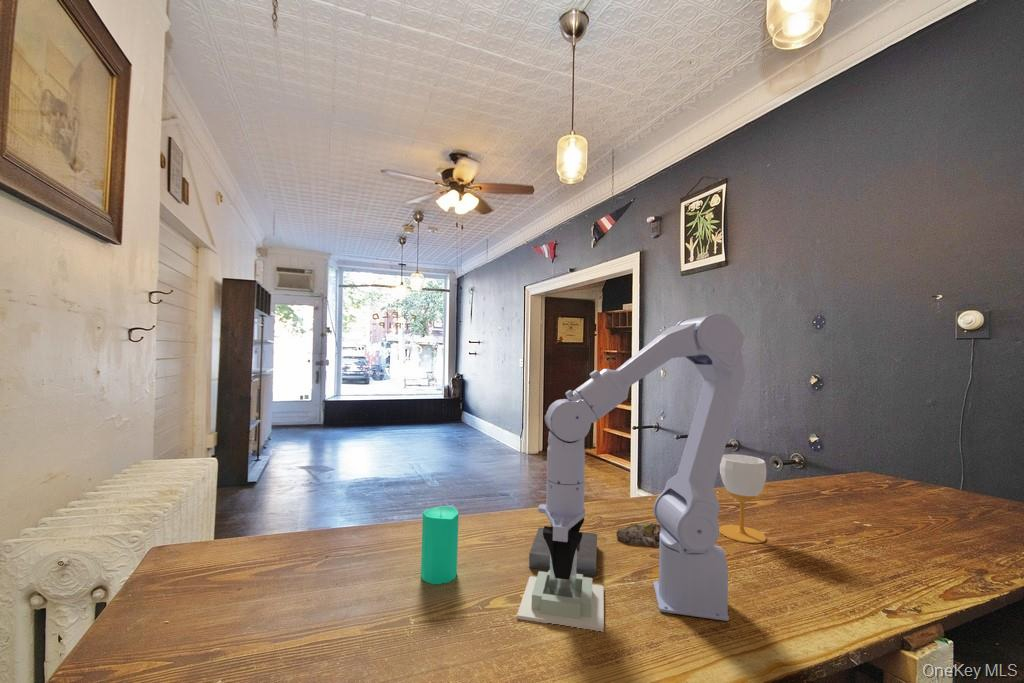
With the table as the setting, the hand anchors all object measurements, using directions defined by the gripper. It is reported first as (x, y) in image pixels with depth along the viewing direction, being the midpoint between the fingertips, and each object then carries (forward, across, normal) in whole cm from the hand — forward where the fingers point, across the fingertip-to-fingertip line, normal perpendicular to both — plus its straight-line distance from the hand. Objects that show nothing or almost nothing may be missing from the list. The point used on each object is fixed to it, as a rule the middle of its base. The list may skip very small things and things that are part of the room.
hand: (563, 570), depth 65 cm
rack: (+5, 0, 0) cm, 5 cm away
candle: (+5, -3, -21) cm, 22 cm away
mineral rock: (+5, -27, +14) cm, 31 cm away
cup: (+5, -35, +35) cm, 50 cm away
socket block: (+5, -15, -1) cm, 16 cm away
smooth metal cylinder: (+3, 0, 0) cm, 3 cm away
